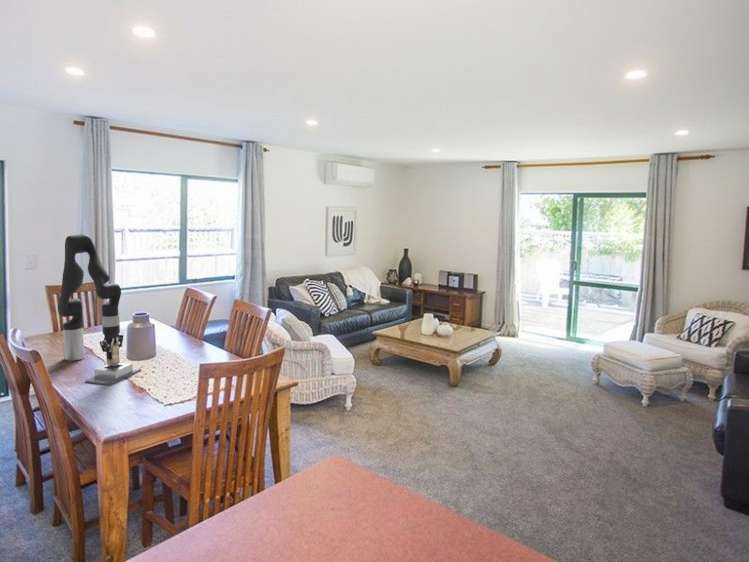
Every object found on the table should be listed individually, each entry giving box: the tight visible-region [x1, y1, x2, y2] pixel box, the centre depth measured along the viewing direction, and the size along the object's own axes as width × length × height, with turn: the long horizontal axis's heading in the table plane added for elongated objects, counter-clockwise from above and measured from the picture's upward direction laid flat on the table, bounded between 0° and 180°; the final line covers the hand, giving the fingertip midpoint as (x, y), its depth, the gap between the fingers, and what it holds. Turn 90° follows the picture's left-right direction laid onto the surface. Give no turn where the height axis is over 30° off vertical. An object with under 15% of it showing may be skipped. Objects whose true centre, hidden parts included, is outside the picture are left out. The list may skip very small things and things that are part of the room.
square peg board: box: [84, 362, 142, 386], centre depth 248 cm, size 14×22×5 cm, turn 168°
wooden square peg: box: [105, 343, 121, 366], centre depth 246 cm, size 4×4×10 cm
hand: (112, 357), depth 246 cm, fingers closed on wooden square peg, 4 cm apart
